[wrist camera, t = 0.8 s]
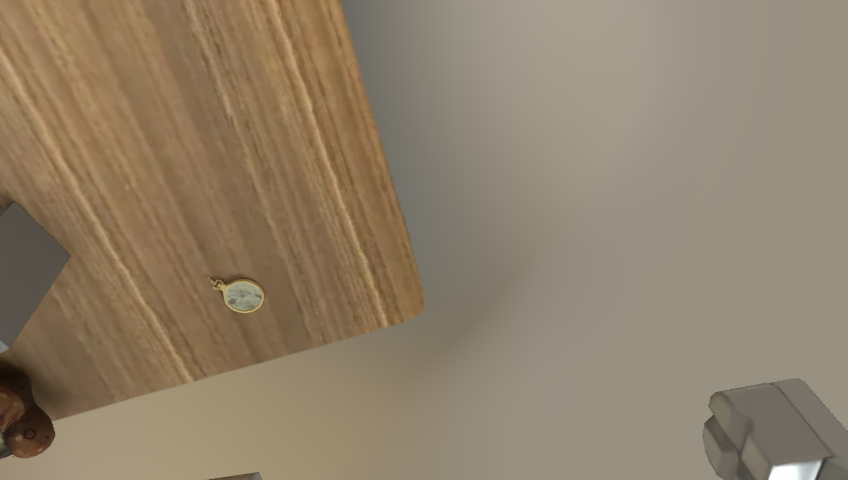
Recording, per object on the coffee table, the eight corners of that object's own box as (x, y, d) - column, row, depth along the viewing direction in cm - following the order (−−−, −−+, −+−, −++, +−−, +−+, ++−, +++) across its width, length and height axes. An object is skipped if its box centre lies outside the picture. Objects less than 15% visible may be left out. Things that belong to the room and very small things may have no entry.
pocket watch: (270, 288, 64) (270, 291, 64) (253, 315, 66) (252, 318, 65) (215, 263, 62) (214, 266, 62) (198, 292, 64) (197, 295, 63)
